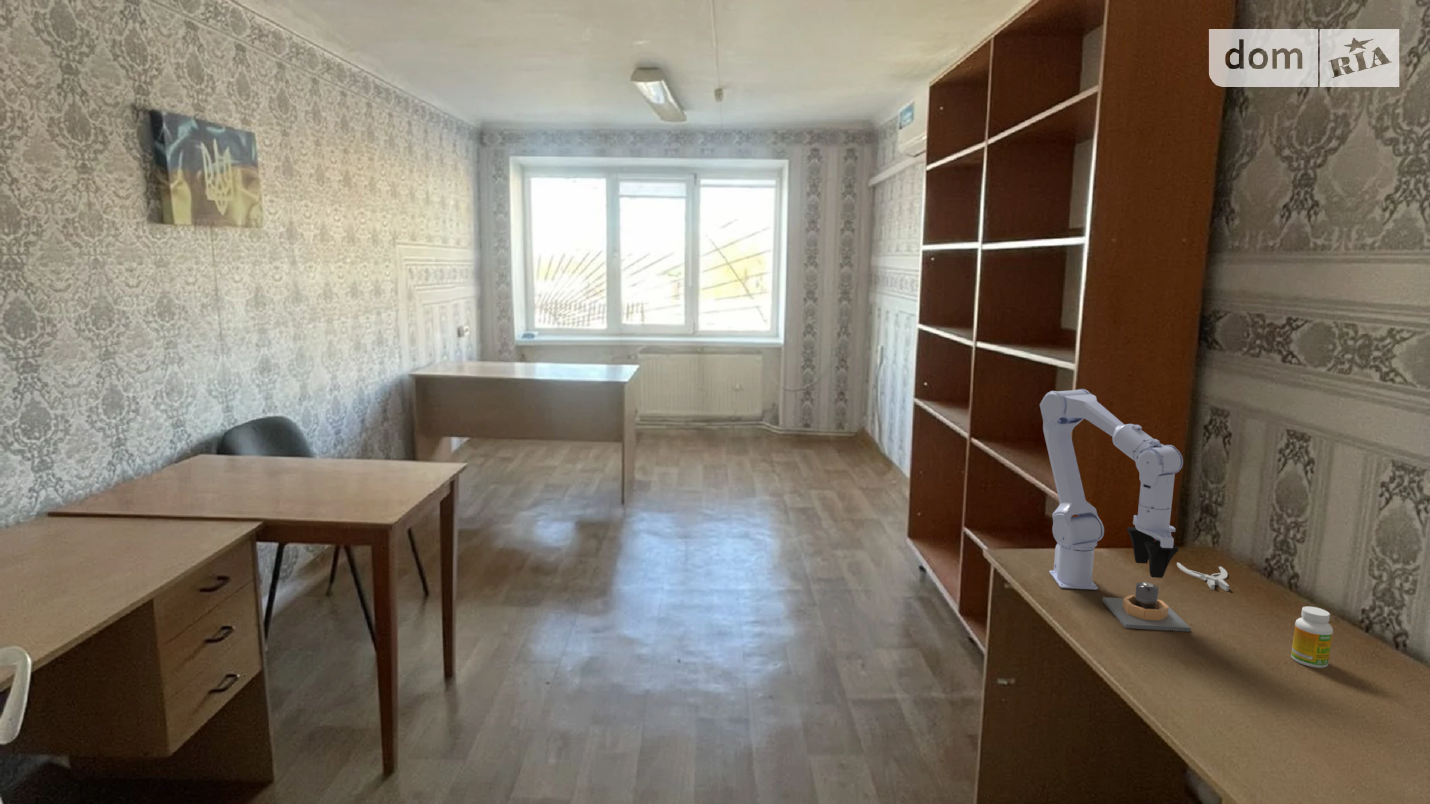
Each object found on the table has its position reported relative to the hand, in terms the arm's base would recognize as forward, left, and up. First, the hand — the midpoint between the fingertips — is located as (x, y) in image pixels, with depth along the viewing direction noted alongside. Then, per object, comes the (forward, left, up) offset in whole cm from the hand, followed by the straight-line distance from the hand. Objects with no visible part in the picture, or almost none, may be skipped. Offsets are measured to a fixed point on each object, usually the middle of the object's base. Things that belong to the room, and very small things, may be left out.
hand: (1148, 569), depth 157 cm
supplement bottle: (+16, +22, -10) cm, 29 cm away
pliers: (-23, +23, -10) cm, 34 cm away
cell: (0, 0, -9) cm, 9 cm away
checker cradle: (0, 0, -10) cm, 10 cm away
